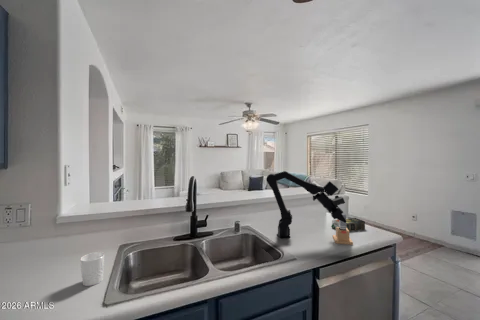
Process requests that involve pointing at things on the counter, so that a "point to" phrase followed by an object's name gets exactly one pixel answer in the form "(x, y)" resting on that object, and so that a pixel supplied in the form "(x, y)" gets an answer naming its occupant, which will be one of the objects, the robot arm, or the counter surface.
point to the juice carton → (351, 224)
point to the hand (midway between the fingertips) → (345, 221)
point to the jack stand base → (342, 237)
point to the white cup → (92, 268)
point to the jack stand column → (342, 223)
